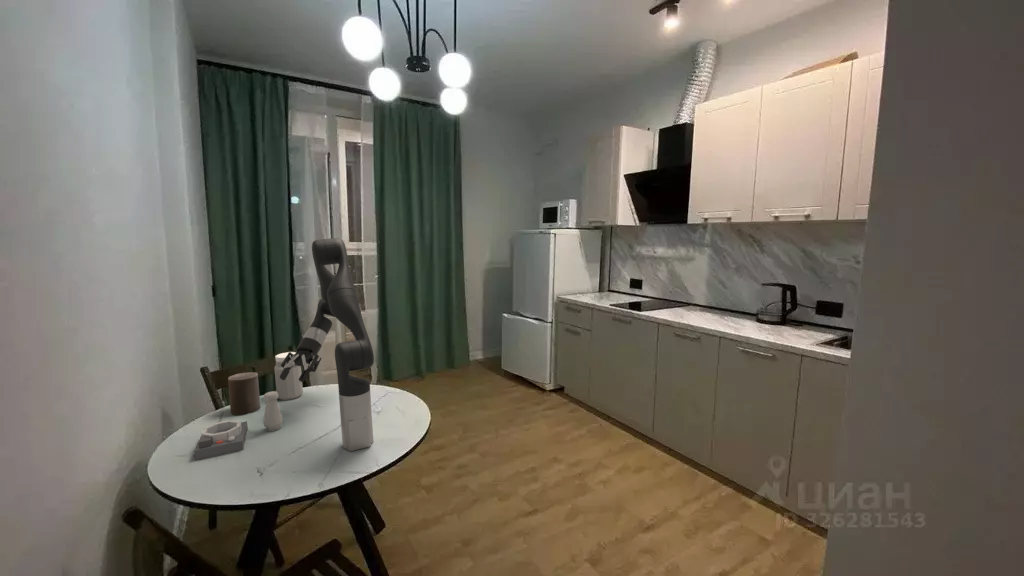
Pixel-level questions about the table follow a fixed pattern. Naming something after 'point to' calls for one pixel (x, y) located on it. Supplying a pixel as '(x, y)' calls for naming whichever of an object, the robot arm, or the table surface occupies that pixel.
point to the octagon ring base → (221, 439)
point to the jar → (287, 380)
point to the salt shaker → (272, 412)
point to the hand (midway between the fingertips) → (291, 380)
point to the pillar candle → (244, 393)
